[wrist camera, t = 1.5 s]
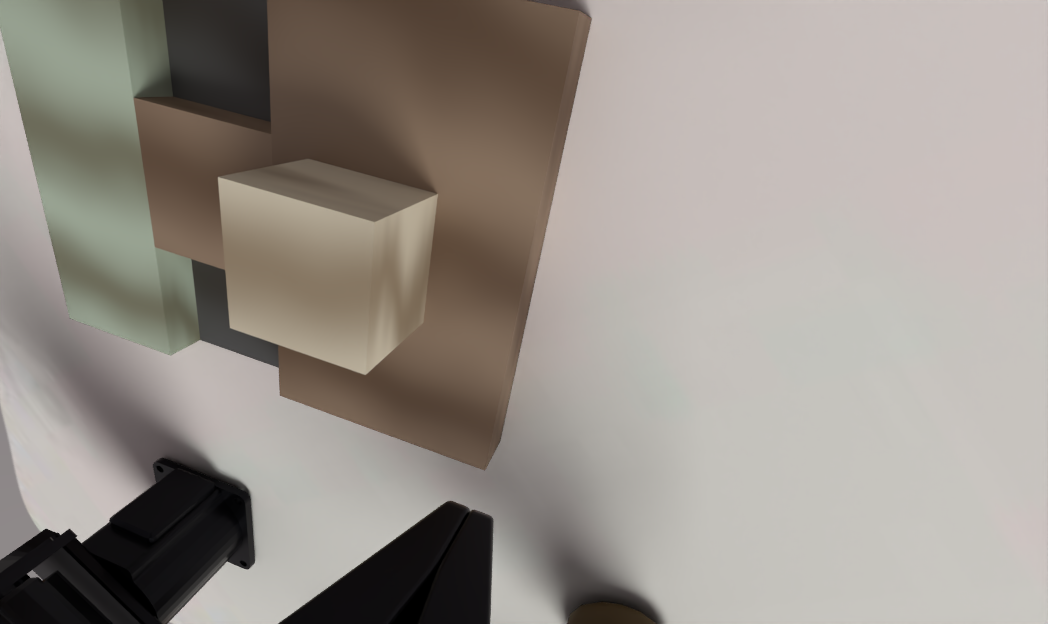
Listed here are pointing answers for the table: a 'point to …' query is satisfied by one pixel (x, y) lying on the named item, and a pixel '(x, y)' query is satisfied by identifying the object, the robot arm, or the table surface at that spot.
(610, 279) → the table surface
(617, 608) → the kendama
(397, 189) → the birch block
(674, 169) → the table surface
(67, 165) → the trap deck
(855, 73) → the table surface
